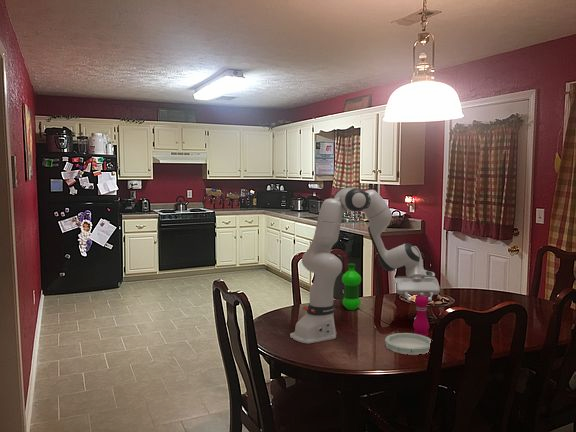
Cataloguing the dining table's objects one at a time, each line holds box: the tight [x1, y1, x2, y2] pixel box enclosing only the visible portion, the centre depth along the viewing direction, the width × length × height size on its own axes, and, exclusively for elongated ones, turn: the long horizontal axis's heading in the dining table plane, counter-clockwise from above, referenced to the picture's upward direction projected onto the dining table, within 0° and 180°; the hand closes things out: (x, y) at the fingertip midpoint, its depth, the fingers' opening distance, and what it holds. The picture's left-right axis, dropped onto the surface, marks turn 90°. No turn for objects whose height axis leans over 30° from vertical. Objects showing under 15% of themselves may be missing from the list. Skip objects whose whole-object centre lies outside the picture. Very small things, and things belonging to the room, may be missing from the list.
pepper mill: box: [412, 293, 430, 337], centre depth 224 cm, size 7×7×20 cm
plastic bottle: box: [341, 263, 362, 311], centre depth 268 cm, size 10×10×25 cm
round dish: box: [384, 332, 432, 356], centre depth 211 cm, size 20×20×2 cm
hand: (419, 301), depth 228 cm, fingers open, 8 cm apart
